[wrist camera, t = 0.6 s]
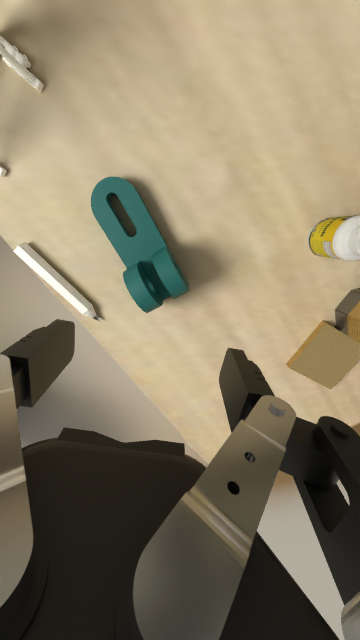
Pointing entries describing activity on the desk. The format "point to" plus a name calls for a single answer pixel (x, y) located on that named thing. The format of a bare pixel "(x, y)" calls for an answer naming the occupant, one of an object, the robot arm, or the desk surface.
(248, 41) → the desk surface
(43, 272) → the marker
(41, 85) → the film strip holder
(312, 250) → the supplement bottle
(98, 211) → the bracket
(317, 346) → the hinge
